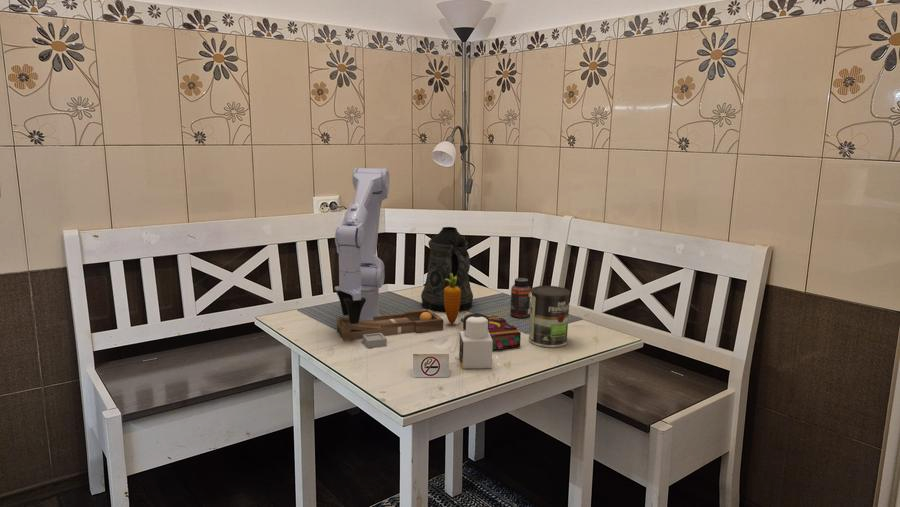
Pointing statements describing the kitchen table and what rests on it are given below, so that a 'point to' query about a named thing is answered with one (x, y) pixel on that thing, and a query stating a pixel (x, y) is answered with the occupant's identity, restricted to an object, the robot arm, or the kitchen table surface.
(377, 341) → the gray box
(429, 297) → the beer stein
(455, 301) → the carrot
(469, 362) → the medicine bottle
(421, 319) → the ball
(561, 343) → the coffee can
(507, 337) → the decorative book
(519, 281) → the supplement bottle
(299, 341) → the kitchen table surface
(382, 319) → the brown wooden shallow tray
